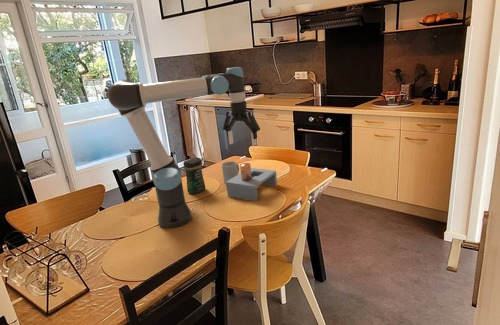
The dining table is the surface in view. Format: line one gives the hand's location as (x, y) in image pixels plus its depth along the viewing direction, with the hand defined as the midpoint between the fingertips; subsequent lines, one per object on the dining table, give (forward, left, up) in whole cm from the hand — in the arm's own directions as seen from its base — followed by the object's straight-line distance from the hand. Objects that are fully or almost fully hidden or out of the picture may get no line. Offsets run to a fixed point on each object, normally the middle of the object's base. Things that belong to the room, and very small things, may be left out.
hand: (242, 144), depth 165 cm
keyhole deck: (+5, 0, -26) cm, 27 cm away
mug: (+13, +18, -27) cm, 35 cm away
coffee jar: (-6, +29, -27) cm, 40 cm away
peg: (0, 0, -25) cm, 25 cm away
